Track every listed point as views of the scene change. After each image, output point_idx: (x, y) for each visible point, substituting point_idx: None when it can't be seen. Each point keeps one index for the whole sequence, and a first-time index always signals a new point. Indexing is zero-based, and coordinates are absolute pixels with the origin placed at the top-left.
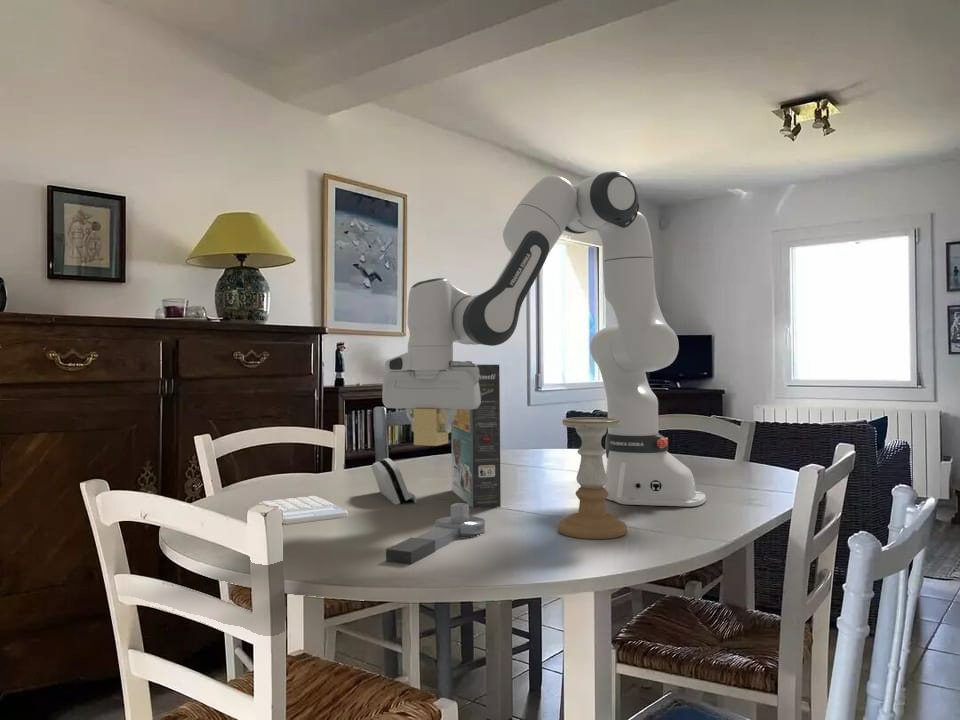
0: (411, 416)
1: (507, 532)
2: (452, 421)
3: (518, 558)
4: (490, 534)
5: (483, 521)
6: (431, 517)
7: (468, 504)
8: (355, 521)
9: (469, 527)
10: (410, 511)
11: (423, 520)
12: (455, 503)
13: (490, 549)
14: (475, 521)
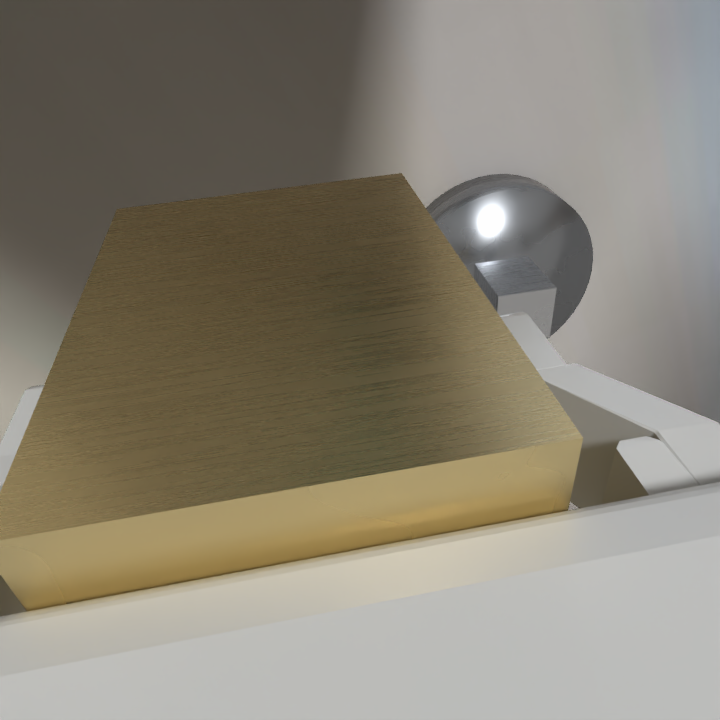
0: (9, 610)
1: (653, 190)
2: (598, 379)
3: (716, 408)
4: (599, 245)
5: (586, 246)
6: (235, 94)
7: (554, 291)
8: (3, 328)
9: (556, 326)
10: (15, 4)
11: (244, 172)
12: (499, 309)
13: (636, 382)
14: (557, 260)
